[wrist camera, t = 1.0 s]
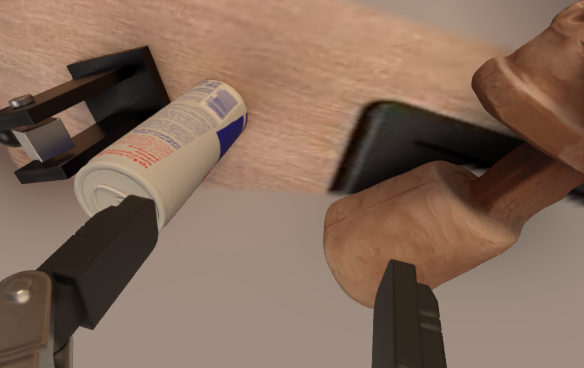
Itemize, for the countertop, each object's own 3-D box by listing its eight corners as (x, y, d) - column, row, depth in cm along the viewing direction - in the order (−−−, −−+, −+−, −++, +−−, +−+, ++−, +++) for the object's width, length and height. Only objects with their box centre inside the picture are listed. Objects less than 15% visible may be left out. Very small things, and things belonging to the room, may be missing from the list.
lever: (35, 137, 33) (1, 151, 32) (16, 108, 32) (-20, 121, 30) (81, 149, 26) (41, 168, 25) (60, 112, 25) (17, 130, 23)
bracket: (111, 132, 37) (11, 197, 27) (75, 62, 34) (-52, 108, 24) (178, 121, 34) (96, 189, 25) (147, 45, 31) (38, 89, 21)
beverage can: (178, 94, 33) (51, 181, 21) (226, 66, 31) (115, 146, 18) (213, 146, 35) (117, 253, 23) (260, 124, 33) (182, 230, 20)
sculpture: (294, 162, 33) (749, -156, 18) (387, 249, 38) (791, 65, 23) (277, 246, 25) (1060, -190, 10) (396, 341, 30) (1012, 153, 15)
